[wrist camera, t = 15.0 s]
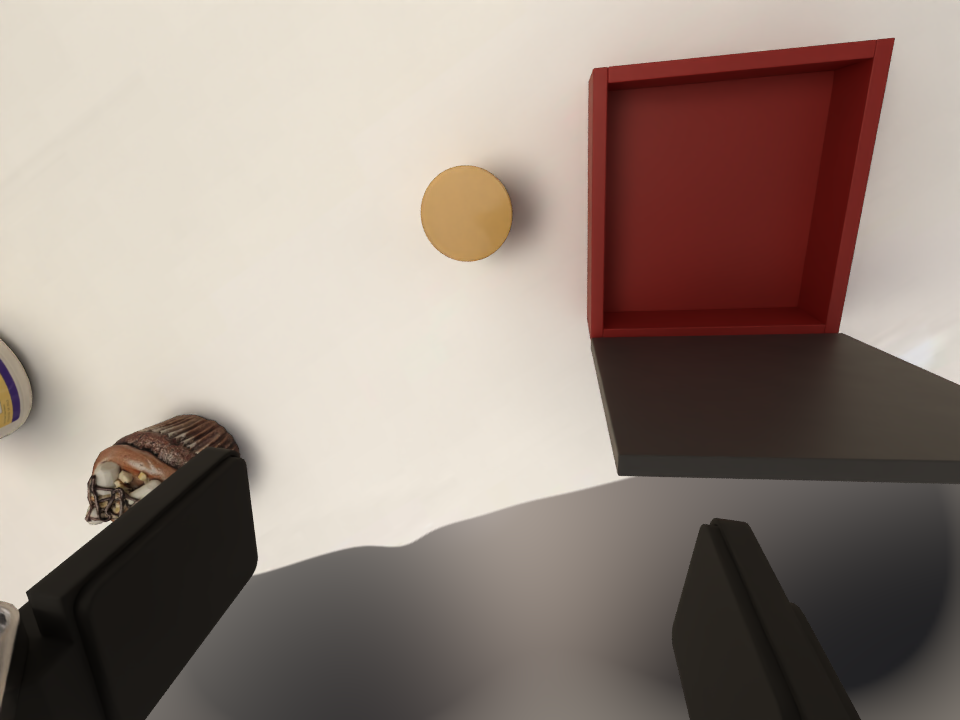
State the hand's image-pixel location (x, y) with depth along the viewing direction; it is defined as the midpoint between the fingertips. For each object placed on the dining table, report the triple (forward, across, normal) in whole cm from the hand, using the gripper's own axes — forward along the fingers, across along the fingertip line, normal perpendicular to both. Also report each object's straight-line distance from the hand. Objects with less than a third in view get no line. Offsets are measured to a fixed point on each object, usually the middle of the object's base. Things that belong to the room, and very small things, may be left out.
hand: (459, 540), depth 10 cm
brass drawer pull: (+28, +4, -4) cm, 29 cm away
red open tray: (+28, -11, -5) cm, 31 cm away
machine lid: (+15, -12, +1) cm, 19 cm away
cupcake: (+29, +29, +20) cm, 45 cm away
